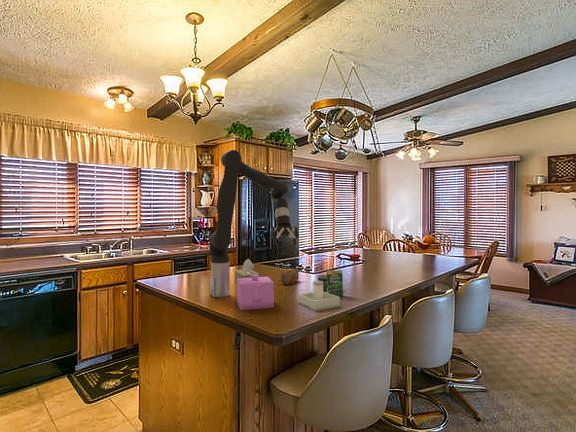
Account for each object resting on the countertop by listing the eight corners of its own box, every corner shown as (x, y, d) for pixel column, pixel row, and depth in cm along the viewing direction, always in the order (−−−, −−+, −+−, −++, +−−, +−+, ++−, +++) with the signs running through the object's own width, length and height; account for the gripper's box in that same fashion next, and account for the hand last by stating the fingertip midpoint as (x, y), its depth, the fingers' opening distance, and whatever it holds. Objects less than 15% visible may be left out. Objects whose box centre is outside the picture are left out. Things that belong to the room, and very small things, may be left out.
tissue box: (260, 288, 196) (260, 260, 195) (243, 290, 192) (243, 261, 191) (250, 281, 213) (250, 256, 213) (234, 283, 209) (234, 257, 209)
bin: (314, 311, 151) (314, 301, 151) (298, 303, 162) (298, 294, 162) (339, 306, 157) (339, 297, 157) (322, 300, 169) (322, 290, 169)
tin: (284, 285, 202) (284, 271, 202) (279, 284, 204) (279, 270, 204) (298, 281, 214) (298, 267, 214) (294, 280, 216) (294, 267, 216)
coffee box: (327, 296, 176) (327, 271, 175) (326, 295, 178) (326, 270, 178) (343, 296, 176) (343, 271, 175) (342, 295, 178) (342, 270, 178)
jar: (335, 293, 184) (335, 278, 183) (316, 292, 185) (316, 278, 185) (336, 288, 193) (336, 275, 193) (318, 288, 195) (318, 274, 195)
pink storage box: (242, 315, 146) (242, 281, 146) (235, 300, 170) (235, 271, 170) (277, 312, 150) (277, 280, 149) (266, 298, 174) (266, 270, 174)
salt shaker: (317, 305, 157) (316, 283, 157) (311, 302, 161) (311, 281, 161) (325, 303, 159) (325, 281, 159) (319, 301, 163) (319, 280, 163)
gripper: (271, 214, 180) (275, 243, 173) (297, 214, 185) (301, 243, 178) (268, 220, 186) (271, 248, 180) (292, 220, 191) (296, 248, 184)
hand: (286, 246), depth 179 cm, fingers open, 8 cm apart
